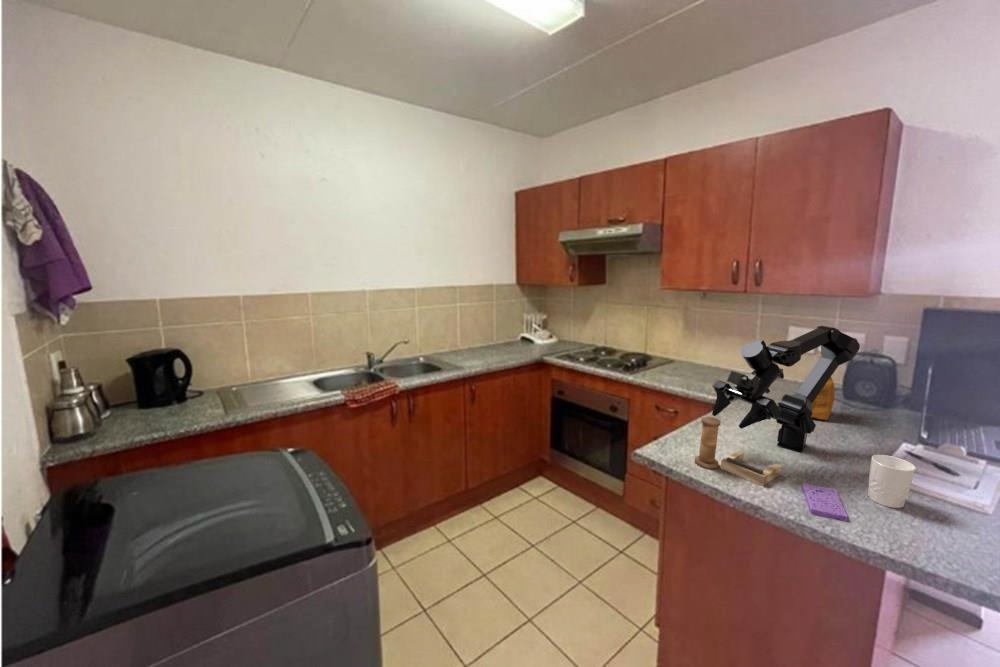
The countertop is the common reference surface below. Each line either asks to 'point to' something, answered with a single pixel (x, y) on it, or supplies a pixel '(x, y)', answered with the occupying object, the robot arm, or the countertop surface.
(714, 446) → the bobbin
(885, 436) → the countertop surface
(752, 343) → the robot arm
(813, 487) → the sponges
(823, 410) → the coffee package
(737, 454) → the wooden tray
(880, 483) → the white cup
